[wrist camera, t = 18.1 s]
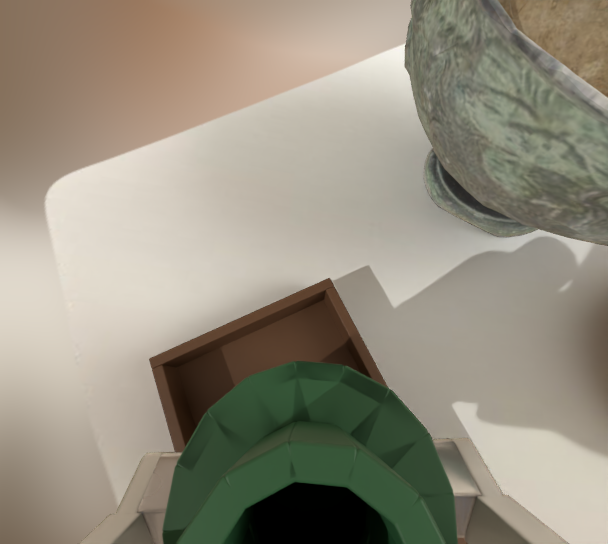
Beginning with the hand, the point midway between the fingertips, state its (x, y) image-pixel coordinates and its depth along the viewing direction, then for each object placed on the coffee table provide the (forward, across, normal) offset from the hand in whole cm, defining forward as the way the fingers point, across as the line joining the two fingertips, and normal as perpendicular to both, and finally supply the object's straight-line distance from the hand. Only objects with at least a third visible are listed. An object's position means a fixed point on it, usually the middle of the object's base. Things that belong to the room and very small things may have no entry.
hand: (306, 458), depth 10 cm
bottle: (+5, 0, +6) cm, 7 cm away
